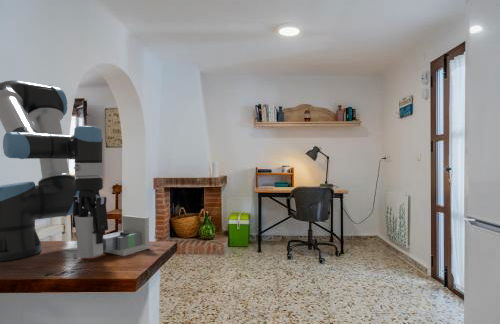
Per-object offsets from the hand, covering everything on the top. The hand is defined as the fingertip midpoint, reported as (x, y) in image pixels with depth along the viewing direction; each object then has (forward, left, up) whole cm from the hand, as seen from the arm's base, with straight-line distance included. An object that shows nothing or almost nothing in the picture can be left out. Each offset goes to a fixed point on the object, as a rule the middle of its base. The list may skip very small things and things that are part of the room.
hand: (89, 252), depth 93 cm
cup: (0, 0, -1) cm, 1 cm away
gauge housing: (0, +12, -2) cm, 13 cm away
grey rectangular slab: (+1, +8, 0) cm, 8 cm away
